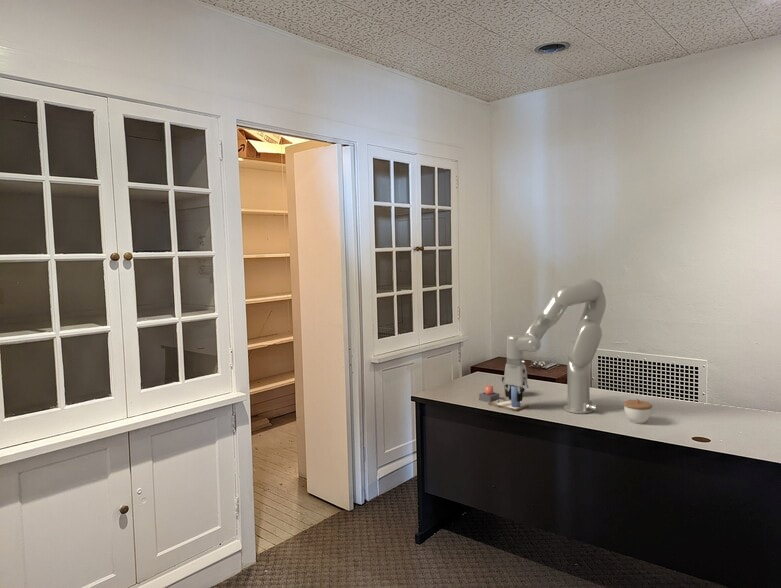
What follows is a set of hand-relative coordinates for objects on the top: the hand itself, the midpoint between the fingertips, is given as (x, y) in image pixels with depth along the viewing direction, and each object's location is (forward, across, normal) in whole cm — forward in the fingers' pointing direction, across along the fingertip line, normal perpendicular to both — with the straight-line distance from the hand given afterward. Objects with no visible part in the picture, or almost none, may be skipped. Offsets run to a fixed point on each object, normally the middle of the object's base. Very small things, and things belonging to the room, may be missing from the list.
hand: (515, 399), depth 251 cm
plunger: (+3, +18, -3) cm, 18 cm away
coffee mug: (+4, +15, -17) cm, 23 cm away
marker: (+3, 0, 0) cm, 3 cm away
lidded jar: (+4, -48, -19) cm, 52 cm away
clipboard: (+4, +5, -1) cm, 6 cm away
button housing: (+4, +18, -3) cm, 19 cm away
